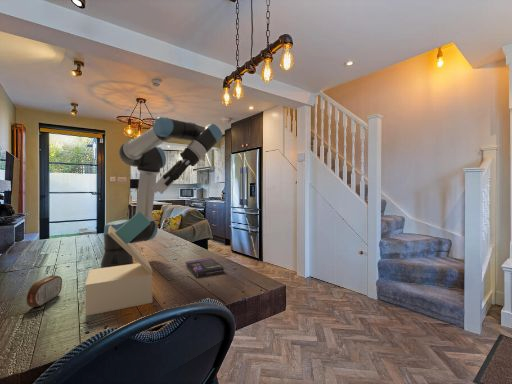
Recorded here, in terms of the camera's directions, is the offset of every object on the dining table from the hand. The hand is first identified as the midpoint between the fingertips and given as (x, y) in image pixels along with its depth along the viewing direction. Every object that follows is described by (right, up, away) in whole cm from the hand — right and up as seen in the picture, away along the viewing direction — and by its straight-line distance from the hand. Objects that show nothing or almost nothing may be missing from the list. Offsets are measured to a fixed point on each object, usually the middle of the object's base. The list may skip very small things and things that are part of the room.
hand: (155, 191), depth 104 cm
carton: (-11, -40, -6) cm, 42 cm away
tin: (-37, -40, -7) cm, 55 cm away
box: (+13, -40, +29) cm, 51 cm away
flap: (-8, -22, -5) cm, 24 cm away
